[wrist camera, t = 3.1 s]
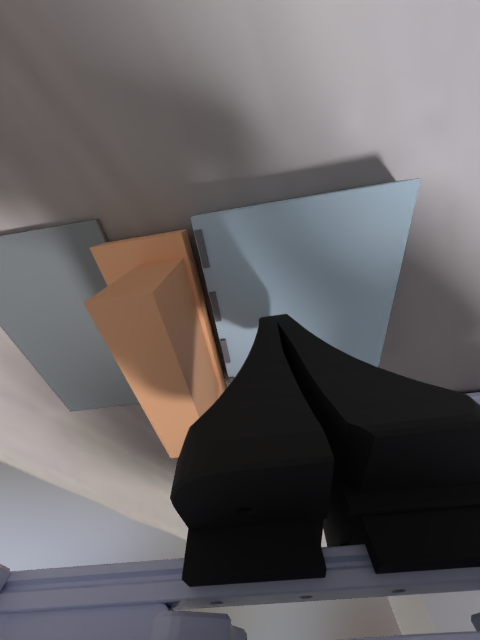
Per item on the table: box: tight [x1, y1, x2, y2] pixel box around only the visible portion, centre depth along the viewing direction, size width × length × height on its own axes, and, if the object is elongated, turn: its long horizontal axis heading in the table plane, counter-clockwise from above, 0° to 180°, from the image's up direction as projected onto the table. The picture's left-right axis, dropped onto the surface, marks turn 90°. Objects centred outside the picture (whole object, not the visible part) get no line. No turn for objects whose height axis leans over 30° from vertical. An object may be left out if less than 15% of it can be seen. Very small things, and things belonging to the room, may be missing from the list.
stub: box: [84, 229, 226, 458], centre depth 10 cm, size 4×10×5 cm, turn 8°
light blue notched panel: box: [190, 178, 421, 383], centre depth 12 cm, size 9×11×2 cm
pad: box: [0, 219, 139, 411], centre depth 13 cm, size 8×12×1 cm, turn 9°
